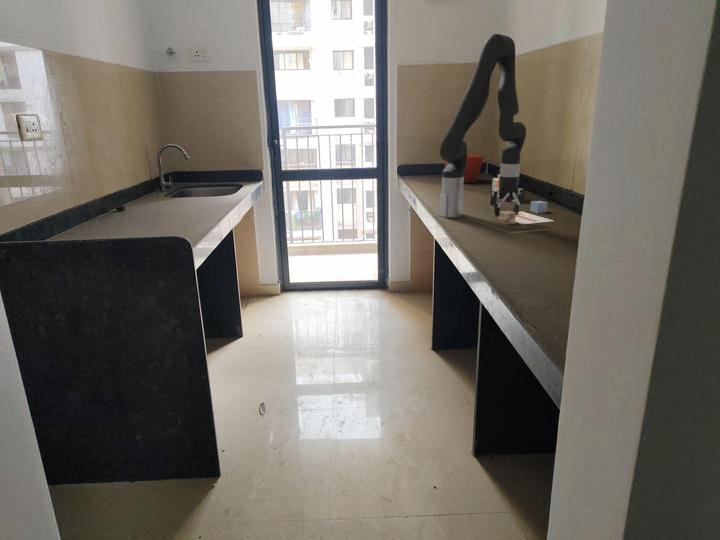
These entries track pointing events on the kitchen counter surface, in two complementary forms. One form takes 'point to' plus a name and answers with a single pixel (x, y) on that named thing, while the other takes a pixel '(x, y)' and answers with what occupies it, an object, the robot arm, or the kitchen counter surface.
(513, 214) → the beech block
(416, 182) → the kitchen counter surface
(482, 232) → the kitchen counter surface
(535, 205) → the blue-grey cube
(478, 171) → the plant pot
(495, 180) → the stack of blocks
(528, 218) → the letter mat
